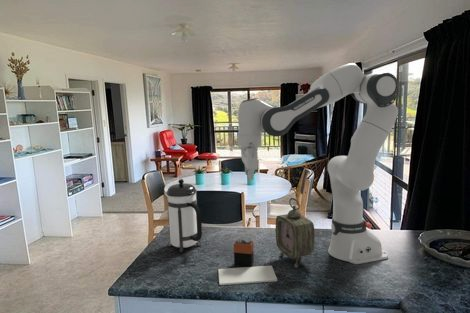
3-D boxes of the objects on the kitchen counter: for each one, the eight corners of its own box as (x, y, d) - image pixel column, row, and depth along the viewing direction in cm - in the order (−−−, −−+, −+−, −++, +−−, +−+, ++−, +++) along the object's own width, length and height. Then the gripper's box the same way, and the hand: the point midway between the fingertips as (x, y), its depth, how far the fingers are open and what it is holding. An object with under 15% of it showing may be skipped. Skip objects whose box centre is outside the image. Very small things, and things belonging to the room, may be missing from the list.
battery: (251, 268, 122) (251, 243, 120) (234, 266, 123) (233, 241, 122) (254, 262, 126) (253, 238, 124) (237, 261, 128) (236, 236, 126)
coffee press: (161, 254, 135) (156, 183, 131) (173, 238, 151) (169, 175, 146) (202, 255, 133) (199, 184, 129) (209, 239, 149) (207, 175, 144)
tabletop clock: (275, 255, 132) (275, 195, 128) (294, 250, 135) (295, 192, 131) (295, 271, 118) (295, 205, 115) (315, 266, 122) (316, 201, 118)
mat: (271, 267, 122) (271, 265, 122) (277, 281, 112) (277, 279, 112) (218, 270, 121) (218, 269, 120) (219, 285, 111) (219, 283, 111)
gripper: (262, 144, 114) (261, 183, 116) (253, 139, 134) (253, 171, 136) (244, 145, 113) (244, 183, 115) (238, 139, 133) (238, 172, 136)
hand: (249, 177), depth 126 cm, fingers open, 8 cm apart
